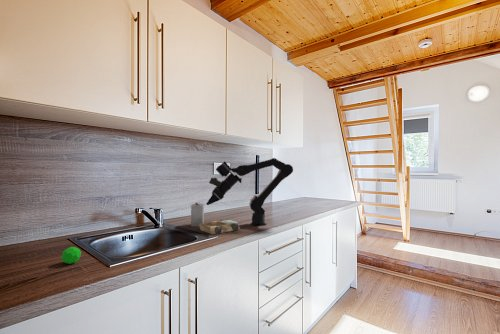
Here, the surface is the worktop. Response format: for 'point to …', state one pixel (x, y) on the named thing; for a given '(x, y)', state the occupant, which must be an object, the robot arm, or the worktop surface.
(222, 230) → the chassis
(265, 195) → the robot arm
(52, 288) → the worktop surface
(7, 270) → the worktop surface
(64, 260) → the polyhedron
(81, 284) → the worktop surface
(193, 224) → the grey rectangular block
